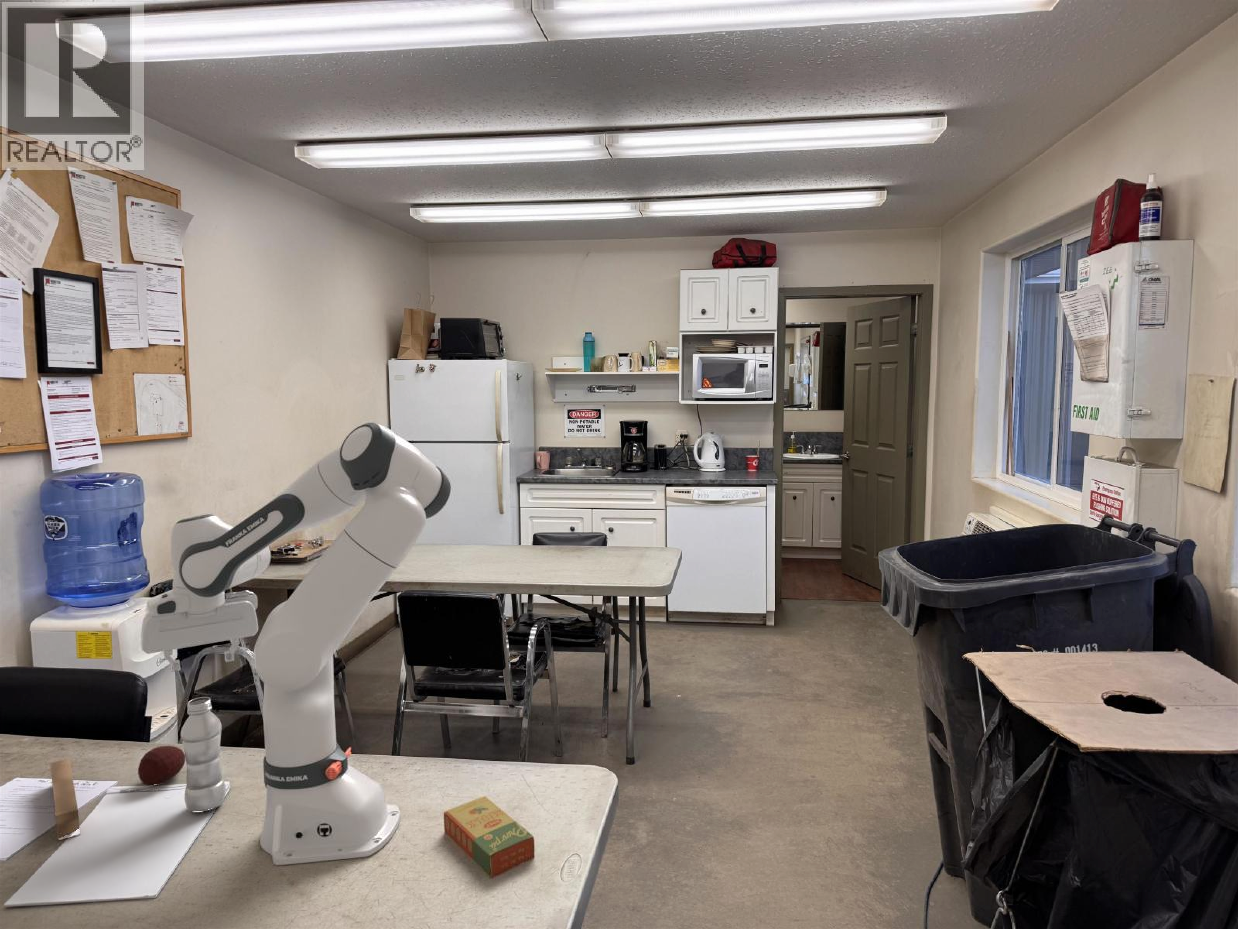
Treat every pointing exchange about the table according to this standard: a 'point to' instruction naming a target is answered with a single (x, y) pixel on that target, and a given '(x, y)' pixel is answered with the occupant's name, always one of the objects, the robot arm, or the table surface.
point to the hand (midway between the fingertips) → (203, 665)
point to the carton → (488, 836)
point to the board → (64, 798)
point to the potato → (161, 764)
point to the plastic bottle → (202, 756)
